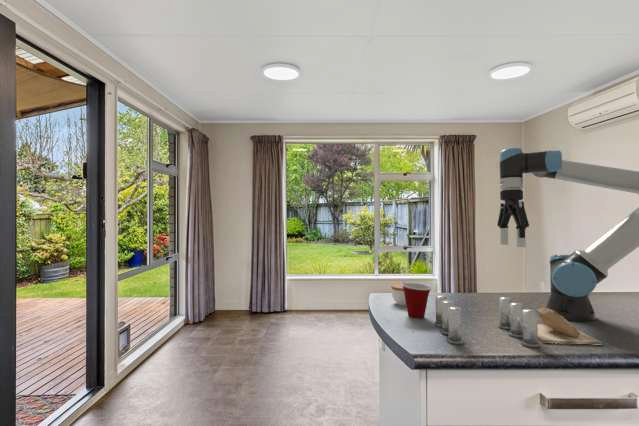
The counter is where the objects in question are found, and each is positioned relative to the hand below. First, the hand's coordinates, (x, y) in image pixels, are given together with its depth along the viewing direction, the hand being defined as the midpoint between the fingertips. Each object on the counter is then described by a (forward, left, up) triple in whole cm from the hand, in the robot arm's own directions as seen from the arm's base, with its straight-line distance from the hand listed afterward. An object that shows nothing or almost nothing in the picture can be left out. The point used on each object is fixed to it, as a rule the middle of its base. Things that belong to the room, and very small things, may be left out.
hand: (512, 245), depth 126 cm
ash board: (-4, +20, -27) cm, 34 cm away
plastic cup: (+36, +4, -27) cm, 45 cm away
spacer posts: (+19, +22, -27) cm, 39 cm away
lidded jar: (+38, -16, -27) cm, 49 cm away
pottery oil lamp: (-4, +21, -26) cm, 33 cm away
